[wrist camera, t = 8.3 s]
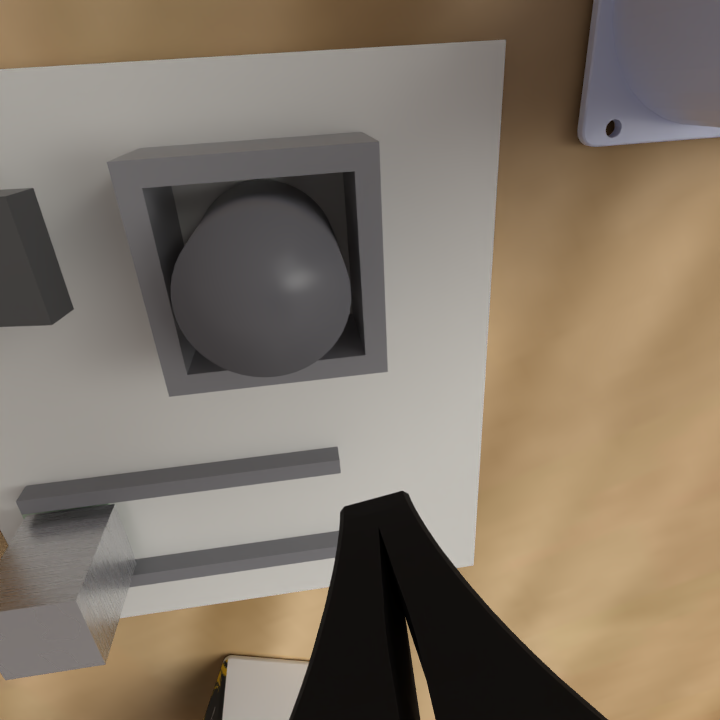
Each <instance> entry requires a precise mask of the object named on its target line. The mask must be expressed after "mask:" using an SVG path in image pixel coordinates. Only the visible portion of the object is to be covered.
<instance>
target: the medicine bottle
mask: <svg viewBox="0 0 720 720" xmlns="http://www.w3.org/2000/svg"><path fill="white" fill-rule="evenodd" d="M308 664H309V661H298V660H286V659H274V658H262V657H250V656H238V655H229V656H227V657H226V658H225V659H224V661H223V664H222V667H221V670H220V673H219V676H218V679H217V682H216V684H215V687H214V690H213V693H212V696H211V699H210V702H209V705H208V708H207V711H206V714H205V717H204V720H289V718H290V716H291V713H292V710H293V708H294V705H295V702H296V699H297V696H298V694H299V691H300V688H301V685H302V682H303V679H304V676H305V673H306V670H307V667H308Z"/></svg>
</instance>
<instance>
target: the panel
mask: <svg viewBox="0 0 720 720" xmlns="http://www.w3.org/2000/svg"><path fill="white" fill-rule="evenodd" d="M505 49H506V40H489V41H472V42H455V43H438V44H421V45H404V46H387V47H370V48H353V49H336V50H319V51H302V52H285V53H268V54H251V55H234V56H217V57H200V58H183V59H166V60H149V61H132V62H115V63H98V64H81V65H64V66H47V67H30V68H13V69H0V190H4V189H23V188H34V191H35V194H36V197H37V200H38V203H39V206H40V209H41V212H42V215H43V218H44V221H45V224H46V227H47V230H48V233H49V236H50V239H51V242H52V245H53V248H54V251H55V254H56V257H57V260H58V263H59V266H60V269H61V272H62V275H63V278H64V281H65V284H66V287H67V290H68V293H69V296H70V299H71V302H72V305H73V308H74V310H72V311H71V312H69V313H68V314H67V315H65V316H64V317H63V318H61V319H60V320H58V321H57V322H56V323H54V324H53V325H44V326H16V327H0V530H1V532H2V534H3V536H4V538H5V540H6V541H7V543H8V545H9V544H10V542H11V541H12V539H13V537H14V536H15V534H16V532H17V531H18V529H19V527H20V526H21V524H22V522H23V521H24V519H25V517H26V516H27V515H33V514H41V513H49V512H56V511H64V510H71V509H79V508H87V507H94V506H102V505H110V504H115V505H116V508H117V511H118V513H119V516H120V519H121V522H122V524H123V527H124V530H125V533H126V535H127V538H128V541H129V544H130V546H131V549H132V552H133V555H134V557H135V560H136V567H135V570H134V573H133V576H132V580H131V583H130V586H129V589H128V593H127V596H126V599H125V602H124V606H123V609H122V612H121V615H120V618H125V617H131V616H138V615H145V614H151V613H158V612H165V611H171V610H178V609H185V608H191V607H198V606H205V605H212V604H218V603H225V602H232V601H238V600H245V599H252V598H258V597H265V596H272V595H278V594H285V593H292V592H299V591H305V590H312V589H319V588H325V587H329V586H330V581H331V577H332V572H333V567H334V561H335V556H336V550H337V543H338V535H339V525H340V511H341V510H342V509H343V507H344V506H348V505H351V504H355V503H359V502H362V501H366V500H370V499H374V498H377V497H381V496H385V495H388V494H392V493H396V492H399V491H404V492H406V493H408V494H409V496H410V498H411V501H412V503H413V505H414V507H415V509H416V510H417V512H418V514H419V516H420V517H421V519H422V521H423V522H424V524H425V526H426V527H427V529H428V530H429V532H430V533H431V535H432V536H433V538H434V539H435V540H436V542H437V543H438V545H439V546H440V547H441V549H442V550H443V552H444V553H445V554H446V555H447V557H448V558H449V559H450V561H451V562H452V563H453V564H454V566H455V567H456V568H459V567H466V566H472V565H474V549H475V533H476V517H477V500H478V484H479V468H480V452H481V436H482V420H483V404H484V388H485V371H486V355H487V339H488V323H489V307H490V291H491V275H492V259H493V242H494V226H495V210H496V194H497V178H498V162H499V146H500V130H501V113H502V97H503V81H504V65H505ZM255 180H271V181H278V182H282V183H286V184H288V185H291V186H293V187H296V188H297V189H299V190H301V191H303V192H304V193H305V194H307V195H308V196H309V197H311V198H312V199H313V200H314V201H315V202H316V203H317V204H318V205H319V206H320V208H321V209H322V210H323V211H324V213H325V215H326V216H327V218H328V220H329V222H330V225H331V227H332V229H333V232H334V235H335V238H336V241H337V244H338V247H339V249H340V252H341V255H342V258H343V261H344V264H345V266H346V269H347V273H348V276H349V280H350V287H351V306H350V313H349V317H348V320H347V323H346V325H345V328H344V330H343V332H342V334H341V336H340V337H339V339H338V341H337V342H336V343H335V344H334V346H333V347H332V348H331V349H330V350H329V351H328V352H327V353H326V354H325V355H324V356H323V357H322V358H320V359H319V360H318V361H316V362H315V363H313V364H312V365H310V366H308V367H306V368H304V369H302V370H299V371H297V372H294V373H291V374H287V375H283V376H277V377H252V376H246V375H241V374H237V373H234V372H231V371H228V370H226V369H224V368H221V367H219V366H218V365H216V364H214V363H212V362H211V361H209V360H208V359H207V358H205V357H204V356H203V355H201V354H200V353H199V352H198V351H197V350H196V349H195V348H194V347H193V346H192V345H191V343H190V342H189V341H188V340H187V338H186V337H185V335H184V334H183V332H182V331H181V329H180V327H179V325H178V322H177V320H176V318H175V314H174V311H173V307H172V301H171V280H172V274H173V270H174V266H175V263H176V261H177V259H178V257H179V254H180V253H181V251H182V249H183V248H184V246H185V245H186V243H187V241H188V240H189V238H190V237H191V235H192V233H193V232H194V230H195V229H196V227H197V225H198V224H199V222H200V221H201V219H202V217H203V216H204V214H205V213H206V211H207V209H208V208H209V206H210V205H211V204H212V203H213V202H214V201H215V199H216V198H218V197H219V196H220V195H221V194H222V193H224V192H225V191H227V190H228V189H230V188H232V187H234V186H236V185H239V184H242V183H245V182H249V181H255Z"/></svg>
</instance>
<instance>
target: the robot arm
mask: <svg viewBox="0 0 720 720" xmlns="http://www.w3.org/2000/svg"><path fill="white" fill-rule="evenodd" d="M611 120H613V121H614V123H615V128H614V131H613V132H612V133H611V134H610V135H609V136H607V135H606V126H607V124H608V123H609V122H610V121H611ZM577 131H578V138H579V140H580V142H581V143H583V144H584V145H587V146H593V147H600V146H612V145H625V144H638V143H650V142H663V141H676V140H689V139H701V138H714V137H720V0H594V2H593V10H592V18H591V26H590V34H589V42H588V50H587V58H586V66H585V74H584V82H583V90H582V98H581V106H580V114H579V122H578V130H577ZM405 617H406V619H405ZM406 620H407V623H408V626H409V629H410V632H411V635H412V638H413V641H414V644H415V647H416V650H417V653H418V656H419V659H420V662H421V665H422V668H423V671H424V674H425V677H426V680H427V684H428V689H429V693H430V697H431V701H432V706H433V710H434V714H435V719H436V720H608V719H606V718H605V717H604V716H603V715H602V714H601V713H600V712H598V711H597V710H596V709H595V708H594V707H593V706H591V705H590V704H589V703H588V702H587V701H586V700H585V699H583V698H582V697H581V696H580V695H579V694H578V693H576V692H575V691H574V690H573V689H572V688H571V687H570V686H568V685H567V684H566V683H565V682H564V681H563V680H561V679H560V678H559V677H558V676H557V675H556V674H555V673H554V672H553V671H552V670H551V669H550V668H549V667H548V666H547V665H545V664H544V663H543V662H542V661H541V660H540V659H539V658H538V657H537V656H536V655H535V654H534V653H533V652H532V651H531V650H530V649H529V648H528V647H527V646H526V645H525V644H524V643H523V642H522V641H521V640H520V639H519V638H518V637H517V636H516V635H515V634H514V633H513V632H512V631H511V630H510V629H509V628H508V627H507V626H506V625H505V624H504V623H503V622H502V621H501V620H500V618H499V617H498V616H497V615H496V614H495V613H494V612H493V611H492V610H491V609H490V608H489V606H488V605H487V604H486V603H485V602H484V601H483V600H482V598H481V597H480V596H479V595H478V594H477V593H476V592H475V590H474V589H473V588H472V587H471V586H470V584H469V583H468V582H467V581H466V580H465V578H464V577H463V576H462V575H461V574H460V572H459V571H458V570H457V568H456V567H455V566H454V564H453V563H452V562H451V561H450V559H449V558H448V557H447V555H446V554H445V553H444V552H443V550H442V549H441V547H440V546H439V545H438V543H437V542H436V540H435V539H434V538H433V536H432V535H431V533H430V532H429V530H428V529H427V527H426V526H425V524H424V522H423V521H422V519H421V517H420V516H419V514H418V512H417V510H416V509H415V507H414V505H413V503H412V501H411V498H410V496H409V494H408V493H406V492H404V491H399V492H396V493H392V494H388V495H385V496H381V497H377V498H374V499H370V500H366V501H362V502H359V503H355V504H351V505H348V506H344V507H343V509H342V510H341V511H340V525H339V535H338V543H337V550H336V556H335V561H334V567H333V572H332V577H331V581H330V586H329V590H328V595H327V600H326V604H325V608H324V612H323V616H322V619H321V623H320V626H319V630H318V633H317V637H316V641H315V644H314V648H313V651H312V655H311V658H310V661H309V664H308V667H307V670H306V673H305V676H304V679H303V682H302V685H301V688H300V691H299V694H298V696H297V699H296V702H295V705H294V708H293V710H292V713H291V716H290V718H289V720H420V715H419V708H418V701H417V694H416V687H415V680H414V674H413V667H412V660H411V653H410V646H409V639H408V633H407V626H406Z"/></svg>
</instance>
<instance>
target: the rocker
mask: <svg viewBox="0 0 720 720" xmlns="http://www.w3.org/2000/svg"><path fill="white" fill-rule="evenodd" d="M72 310H74V308H73V305H72V302H71V299H70V296H69V293H68V290H67V287H66V284H65V281H64V278H63V275H62V272H61V269H60V266H59V263H58V260H57V257H56V254H55V251H54V248H53V245H52V242H51V239H50V236H49V233H48V230H47V227H46V224H45V221H44V218H43V215H42V212H41V209H40V206H39V203H38V200H37V197H36V194H35V191H34V188H23V189H4V190H0V327H16V326H44V325H53V324H54V323H56V322H57V321H58V320H60V319H61V318H63V317H64V316H65V315H67V314H68V313H69V312H71V311H72Z"/></svg>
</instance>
